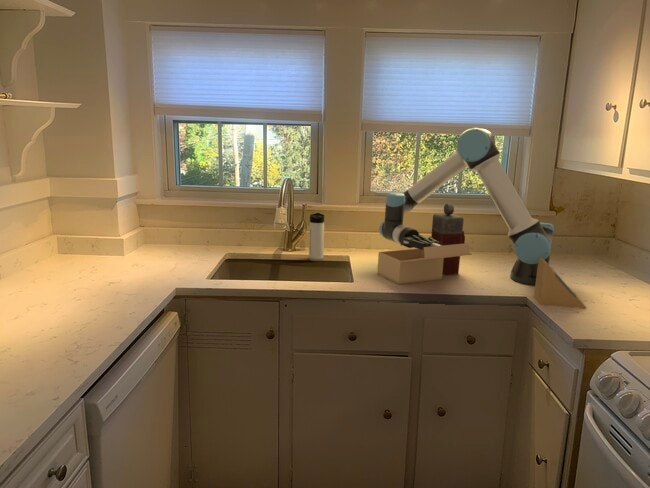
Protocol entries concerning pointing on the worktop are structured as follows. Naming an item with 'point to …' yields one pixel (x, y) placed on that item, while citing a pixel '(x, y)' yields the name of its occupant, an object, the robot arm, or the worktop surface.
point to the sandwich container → (553, 288)
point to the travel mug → (316, 237)
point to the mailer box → (408, 266)
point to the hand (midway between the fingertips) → (444, 251)
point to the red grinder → (448, 236)
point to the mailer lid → (443, 252)
